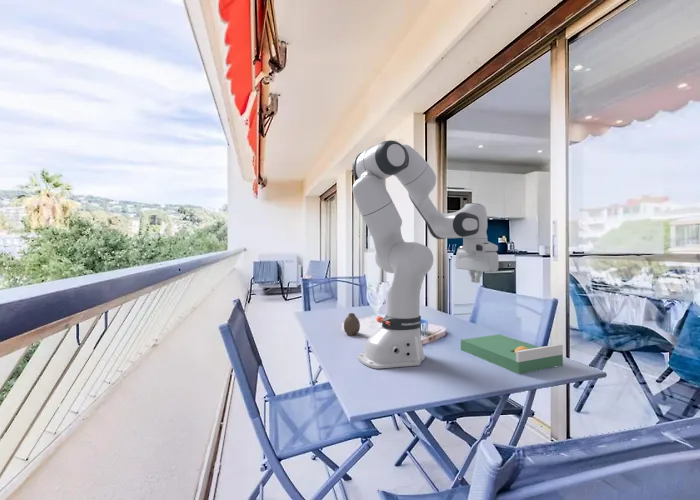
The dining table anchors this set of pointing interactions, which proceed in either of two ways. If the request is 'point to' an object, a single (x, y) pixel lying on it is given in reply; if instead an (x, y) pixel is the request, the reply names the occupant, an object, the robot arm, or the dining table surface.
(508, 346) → the green
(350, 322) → the vase
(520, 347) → the ball
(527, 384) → the dining table surface
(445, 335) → the dining table surface
